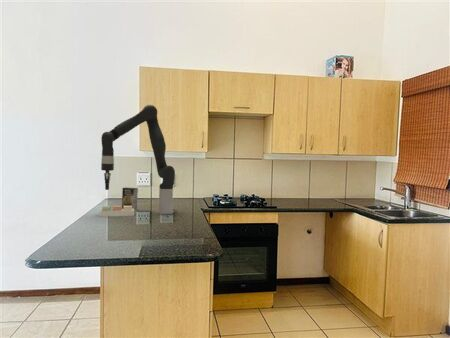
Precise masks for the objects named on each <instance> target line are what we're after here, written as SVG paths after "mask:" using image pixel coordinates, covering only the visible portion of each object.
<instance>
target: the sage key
mask: <svg viewBox="0 0 450 338" xmlns="http://www.w3.org/2000/svg"><path fill="white" fill-rule="evenodd" d="M101 209H102V211H111V209H112V205H102V207H101Z"/></svg>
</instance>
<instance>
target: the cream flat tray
mask: <svg viewBox="0 0 450 338" xmlns="http://www.w3.org/2000/svg"><path fill="white" fill-rule="evenodd" d="M134 216H135V211H134V209H132V210H123V209H122V210H121V211H113V208H111V211H102V208H100V209H99V217H100V218H103V217H106V218H107V217H134Z"/></svg>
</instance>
